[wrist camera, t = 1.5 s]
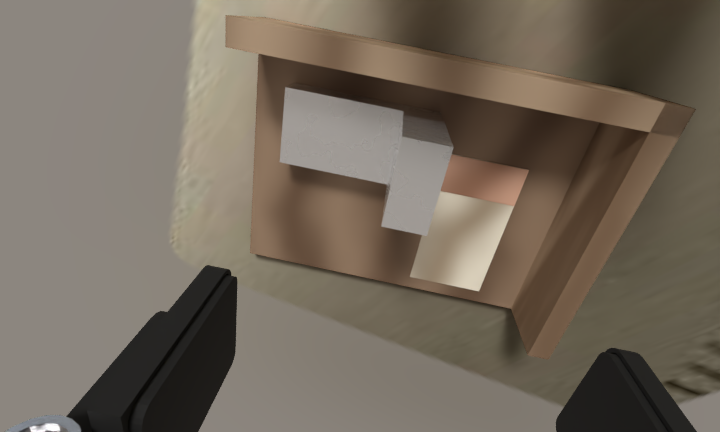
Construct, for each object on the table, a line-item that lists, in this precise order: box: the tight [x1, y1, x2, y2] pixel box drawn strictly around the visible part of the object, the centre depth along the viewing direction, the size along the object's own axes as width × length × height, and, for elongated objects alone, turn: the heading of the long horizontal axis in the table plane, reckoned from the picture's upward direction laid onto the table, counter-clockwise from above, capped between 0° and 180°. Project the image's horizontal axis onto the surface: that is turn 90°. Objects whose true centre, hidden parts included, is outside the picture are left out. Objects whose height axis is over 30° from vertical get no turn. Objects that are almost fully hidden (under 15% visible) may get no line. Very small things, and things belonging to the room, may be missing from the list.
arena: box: [226, 15, 696, 359], centre depth 26 cm, size 24×18×6 cm
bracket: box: [280, 83, 454, 236], centre depth 23 cm, size 10×5×8 cm, turn 80°
